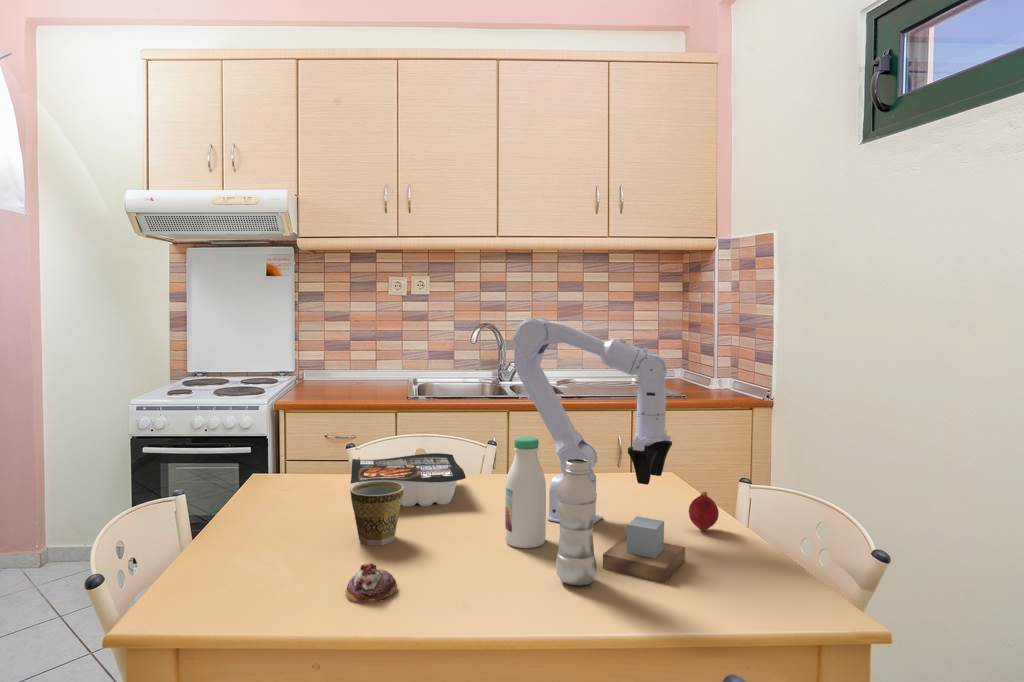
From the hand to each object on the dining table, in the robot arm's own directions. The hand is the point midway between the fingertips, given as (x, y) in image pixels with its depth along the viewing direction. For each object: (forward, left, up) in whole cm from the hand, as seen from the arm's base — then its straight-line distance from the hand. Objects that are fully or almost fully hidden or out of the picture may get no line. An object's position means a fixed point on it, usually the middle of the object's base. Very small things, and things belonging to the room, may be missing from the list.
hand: (649, 479), depth 132 cm
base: (+6, -19, -10) cm, 22 cm away
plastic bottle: (-1, -32, -10) cm, 34 cm away
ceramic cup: (-43, -35, -10) cm, 56 cm away
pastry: (-26, -53, -10) cm, 60 cm away
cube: (+6, -19, -7) cm, 21 cm away
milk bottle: (-17, -21, -10) cm, 29 cm away
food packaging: (-56, -10, -10) cm, 58 cm away
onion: (+10, +4, -10) cm, 15 cm away
